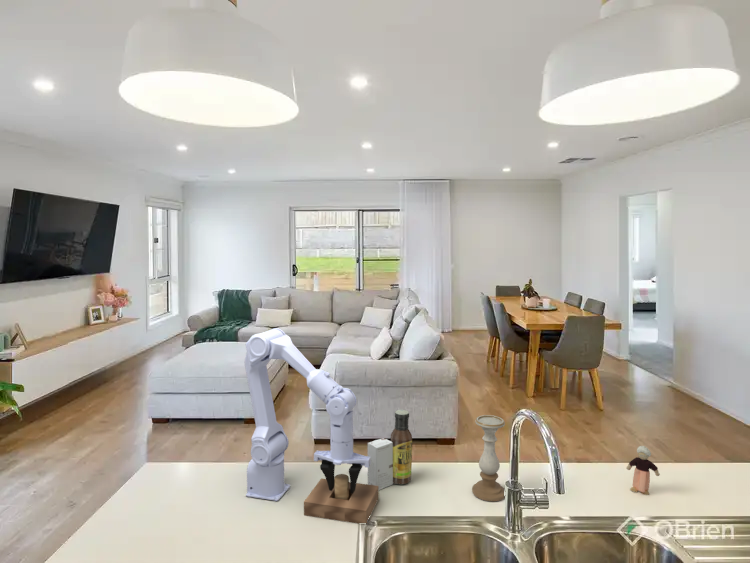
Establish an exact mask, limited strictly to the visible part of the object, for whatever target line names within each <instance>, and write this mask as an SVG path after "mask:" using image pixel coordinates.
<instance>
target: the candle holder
mask: <svg viewBox="0 0 750 563" xmlns="http://www.w3.org/2000/svg"><path fill="white" fill-rule="evenodd" d="M474 421H475V424H476V425H477V426H478V427H480V428H481V429H482V430H483V432H484V435H483V436H482V438H481V439H482V440H483V442H484V444H483V452H482V454H481V455H480V458H479V461H478V467H479V469H480V470H481V471H480V472H479V477H481V479H480V480H478V481H477V482H476V483H475V484H473V485H472V488H471V490H472V491H471V492H472V494H473V496H474V497H476V498H478V499H479V500H481V501H485V502H499V501H502V500H504V499H505V497H504V489H505V488H504V487H503V486H502V484H500V483H499V482H498V481H497V479H498V478H499V474H498V471H499V470H500V461H499V458H498V456H497V453H496V442H497V441H498V438H497V437H496V432H497V431H498V430H499V429H502V428H504V426H505V425H506V424H505V423H506V422H505V420H504V419H503V418H502V417H499V416H497V415H493V414H492V415H491V414H483V415H478V416H476V418H475V420H474Z"/></svg>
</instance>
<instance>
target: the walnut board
mask: <svg viewBox="0 0 750 563" xmlns="http://www.w3.org/2000/svg"><path fill="white" fill-rule="evenodd" d="M379 494H380V493H379V486H375V485H368V483H361V482H359V483H358V482H357V483H356V488H355V491H354V493H353V494H351V493H350V481H349V500H343V499H336V498H335V485H334V488H333V490H332V491H329V487H328V483H327V480H326V478H320V479H319V481H318V482H317V484H316V485H314V488H313V489H312V490H311V492H310V493H309V494H308V495H307V497H305V498H306V499H304V500H303V515H304V516H307V517H311V518H312V517H314V518H319V519H325V520H333V521H338V522H339V521H340V522H343V523H344V522H346V523H351V524H358V525H360V524H359V523H367V524H368V522H367V520H368V518H369V516H370V515H372V514H373V511H374V509H375V507H376V505H377V504H378V501H379V496H380V495H379ZM370 517H371V516H370ZM369 519H370V518H369ZM368 521H369V520H368Z"/></svg>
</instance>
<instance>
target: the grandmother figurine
mask: <svg viewBox="0 0 750 563" xmlns="http://www.w3.org/2000/svg"><path fill="white" fill-rule="evenodd" d="M636 452H637V457H635V458H633V459H631V461H629V462H628V464H627V466H626V470H628V471H630V470H631V469H632V468H633V467H634V472H633V477H632V486H631V487H630V489H629V491H631V492H633V493H638V492H640V494H642V495H643V496H644V495H645V496H650V492H649V490H650V481H651V473H650V470H652V472H654V474H655V476H657V477H659V476H660V475H661V474H660V472H659V469H658V466H657V465H656V464H654V462H652V461H650V460H649V457H651V455H652V452H651V451H650V449H649V448H648V447H647V446H645V445H640V446H637V449H636Z"/></svg>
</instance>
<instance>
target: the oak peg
mask: <svg viewBox="0 0 750 563" xmlns="http://www.w3.org/2000/svg"><path fill="white" fill-rule="evenodd" d="M334 479H335V498H336V499H343V500H349V482H350V475H348V474H345V473H338V474H336V475H334Z"/></svg>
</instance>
